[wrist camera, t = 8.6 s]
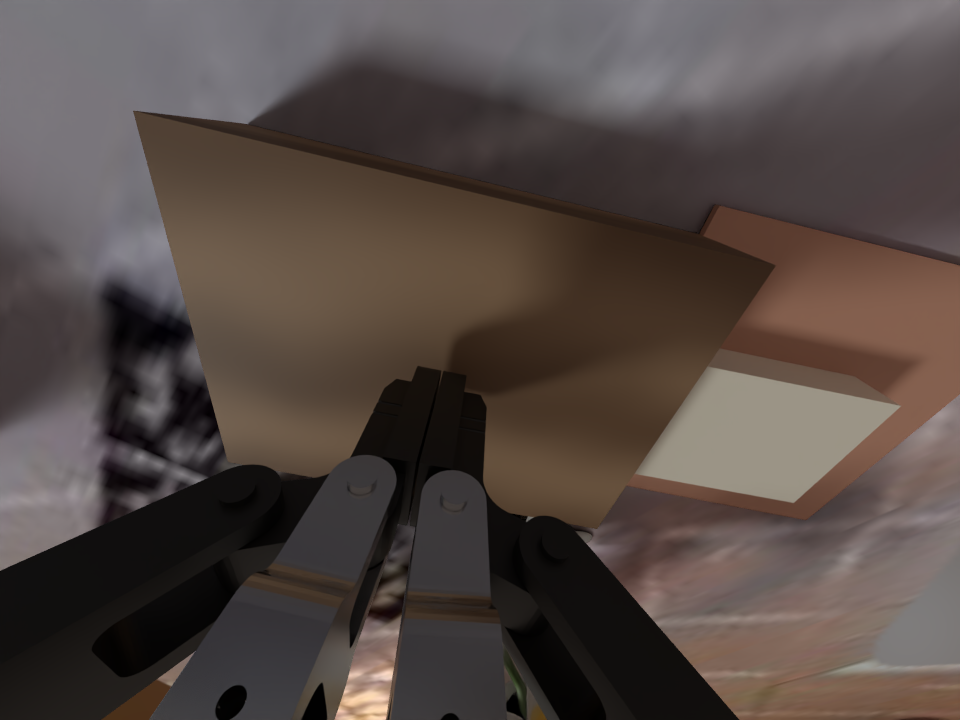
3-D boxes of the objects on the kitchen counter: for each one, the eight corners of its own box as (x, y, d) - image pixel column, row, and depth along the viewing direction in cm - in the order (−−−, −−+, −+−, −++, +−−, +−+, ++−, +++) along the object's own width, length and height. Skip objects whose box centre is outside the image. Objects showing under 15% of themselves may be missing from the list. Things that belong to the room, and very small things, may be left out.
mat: (714, 204, 12) (719, 205, 11) (1068, 292, 12) (1079, 295, 12) (572, 471, 19) (573, 475, 19) (802, 515, 20) (806, 520, 20)
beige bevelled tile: (654, 334, 14) (675, 360, 12) (853, 376, 14) (901, 406, 13) (599, 437, 17) (610, 469, 15) (765, 468, 18) (793, 503, 16)
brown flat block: (245, 123, 11) (133, 110, 8) (699, 234, 12) (775, 265, 9) (281, 401, 17) (228, 461, 14) (579, 459, 18) (596, 529, 15)
